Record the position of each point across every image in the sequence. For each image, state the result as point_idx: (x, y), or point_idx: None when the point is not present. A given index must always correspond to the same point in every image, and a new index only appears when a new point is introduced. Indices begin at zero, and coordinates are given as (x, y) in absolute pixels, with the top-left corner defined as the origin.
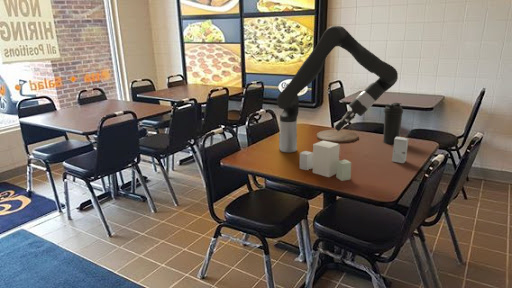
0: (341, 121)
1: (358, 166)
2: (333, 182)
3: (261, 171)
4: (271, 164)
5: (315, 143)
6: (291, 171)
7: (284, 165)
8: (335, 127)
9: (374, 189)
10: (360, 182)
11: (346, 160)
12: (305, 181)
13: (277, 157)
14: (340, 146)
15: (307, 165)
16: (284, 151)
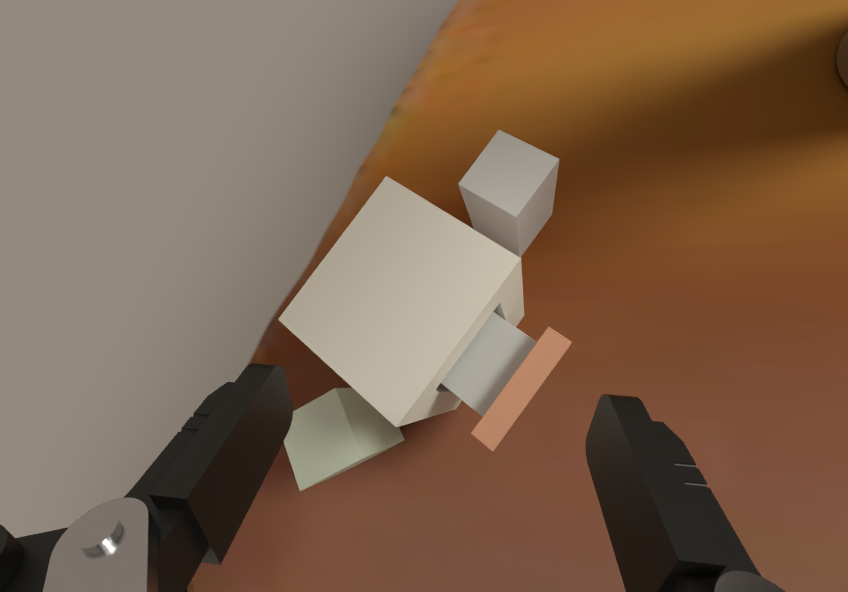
0: (87, 514)
1: (583, 579)
2: (319, 366)
3: (451, 29)
4: (558, 40)
5: (412, 193)
6: (458, 156)
7: (549, 105)
8: (253, 366)
9: (231, 567)
10: (314, 514)
11: (340, 462)
12: (334, 235)
13: (700, 35)
14: (490, 446)
15: (472, 220)
16: (843, 39)
